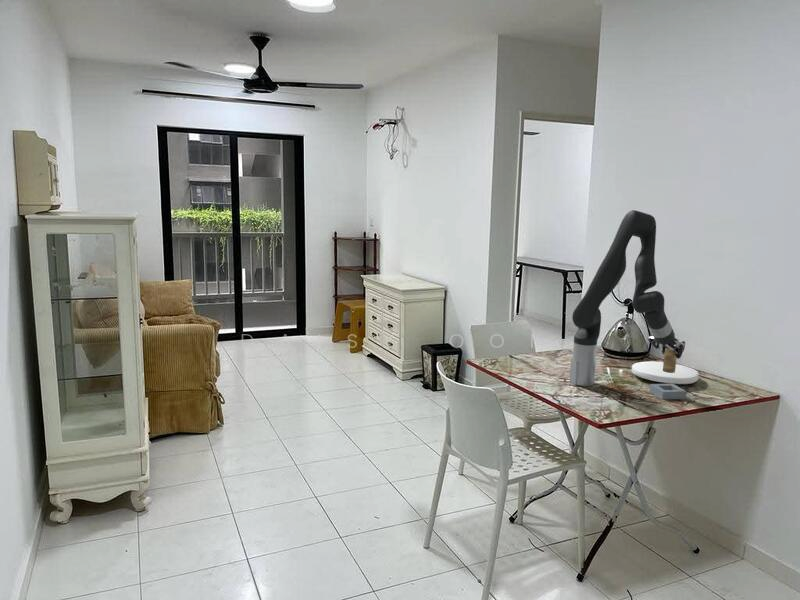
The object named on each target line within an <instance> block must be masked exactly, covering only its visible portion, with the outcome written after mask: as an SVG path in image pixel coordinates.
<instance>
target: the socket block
mask: <svg viewBox="0 0 800 600" xmlns="http://www.w3.org/2000/svg"><path fill="white" fill-rule="evenodd" d="M649 392H650V393H652V394H653V395H654V394H655V396H656V397H658V398H659V397H660V398H659V399H661V400H686V399H687V390H685V389H683V388H681V387H679V386H678V385H677V384H671V383H651V384H649ZM685 398H686V399H685Z"/></svg>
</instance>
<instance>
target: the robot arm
mask: <svg viewBox="0 0 800 600" xmlns="http://www.w3.org/2000/svg"><path fill="white" fill-rule="evenodd" d="M656 236H657V222H656V219H655V217H654V216H653V215H651V214H648V213H646V212H642V211H638V210H635V209H633V210H630V211H628V212H627V213H626V214H625V215H624V217H623V218H622V220H621V222H620V225H619V227H618V229H617V231H616V234H615V236H614V239H613V241H612V243H611V245H610V247H609V249H608V250H607V253H606V254H605V257H603V260H602V261H601V264H600V265H599V267H598V269H597V271H596V273H595V275H594V277H593V278H592V281H591V282H590V284H589V286H588V288H587V291H586V292H585V294H584V296H583V297H582V298H581V300H580V301H579V302H578V304H577V305H576V307H575V308H574V311H573V312H572V317H571V318H572V319H571V320H572V322H573V324H574V326H575V327H577V330H576V331H577V332H576V333H575V335H574V336H573V347H572V349H573V351H572V358H571V359H570V367H569V381H570V382H571V383H572V384H573V385H575V386H581V387H591V386H594V385H595V381H596V380H595V379H596V366H597V349H598V339H599V338H600V332H601V325H602V313H601V310H600V306H601V304H602V303H603V301H605V299H606V298H607V297H608V296H609V295H610V294H611V293H612V292H613V290H614V289H615V288H616V287H617V286H618V284H619V283H620V281H621V279H622V277H623V276H624V274H625V272H626V270H627V248H628V245H629V243H630V241H631V239H632V237H636V238H639V241H640V244H641V247H640V251H639V253H638V255H637V257H636V260H635V262H634V277H635V288H634V293H633V295H632V296H633V297H632V307H633V309H634V312H636V313H638V314H644V315H643V317H644V319H645V322H646V324H647V327H648V330H649V332H650V335H649V337H648V340H647V341H648V342H649V343H650V344H651V345H652V347H654V348H655V349H656V350H660V351H661V354H663V355H664V354H665V347H668V348H669V349H670V350H671V351H673V352H674V353H675V355H676V358H677V359H676V360H680V359H681V357H682V354H683V353H684V351H685V349H686V348H685V347H686V341H683V340H682V341H677V339H678V338H676V335H675V332H674V329H673V327H672V325H671V322H670V320H669V319H668V317H667V315H666V312H665V297H664V295H663V293H662V292H660V291H659V290H658V291H657V290H653V291H647V290H650V289H652V288H653V287H655V286H657V283H658V281H657V272H656V263H655V254H656V253H655V252H656V240H657V239H656Z"/></svg>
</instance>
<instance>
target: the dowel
mask: <svg viewBox="0 0 800 600" xmlns="http://www.w3.org/2000/svg"><path fill="white" fill-rule="evenodd" d="M676 339H677V341H679V339H678V338H676ZM679 342H680V341H679ZM677 360H678V359H677V358H676V355H675V353H674V352H673V351H671V350H670V349H669V348H668V347H665V354H663V362H664V363H663V371H664V372H667V373H675V368H676V364H677Z"/></svg>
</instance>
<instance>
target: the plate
mask: <svg viewBox="0 0 800 600" xmlns="http://www.w3.org/2000/svg"><path fill="white" fill-rule="evenodd" d="M663 363H664V361H653V360H652V361H649V360H648V361H640V362H635V363H633V364H632V365H631V372H632V373H633V374H634V375H635V376H637V377H639V378H642V379H644V380H645V379H646V380H648V381H652V382H658V383H662V384H674V385H688V384H689V385H690V384H694V383H695V382H697V381H698V380H699V378H700V374H699V373H700V372H699V371H698V370H695V369H694V368H691V367H690V366H685V365H682V364H678V363H676V368H675V373H667V372H664V371H663Z"/></svg>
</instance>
